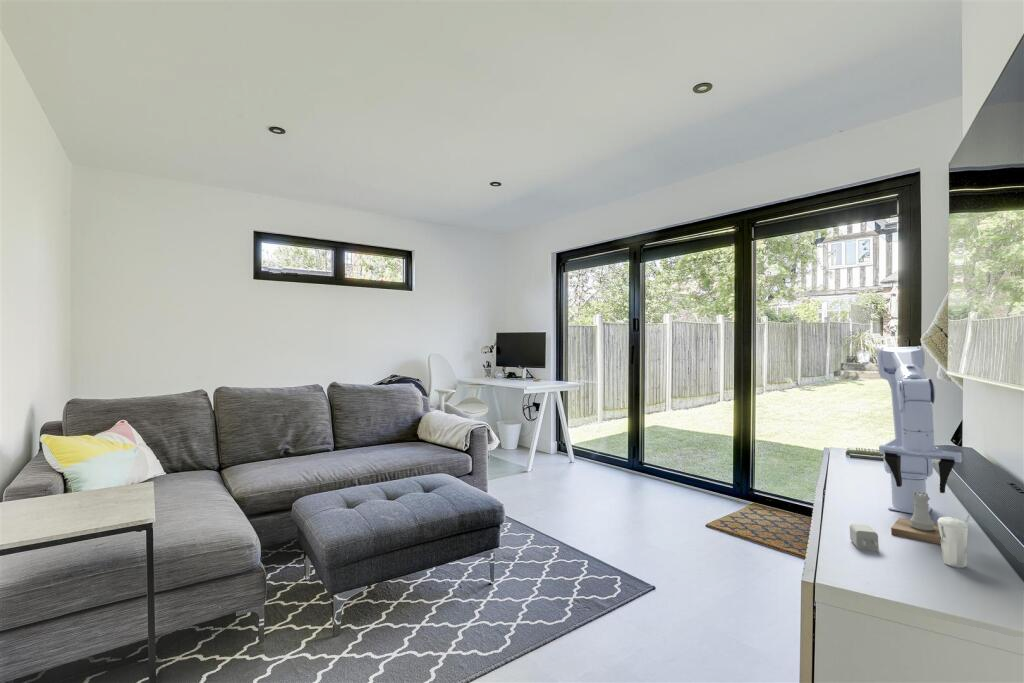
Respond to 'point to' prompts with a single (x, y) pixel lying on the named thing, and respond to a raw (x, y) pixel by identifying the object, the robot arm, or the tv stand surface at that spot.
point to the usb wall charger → (864, 537)
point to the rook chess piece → (921, 513)
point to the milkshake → (953, 540)
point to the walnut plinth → (915, 531)
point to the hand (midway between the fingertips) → (920, 489)
